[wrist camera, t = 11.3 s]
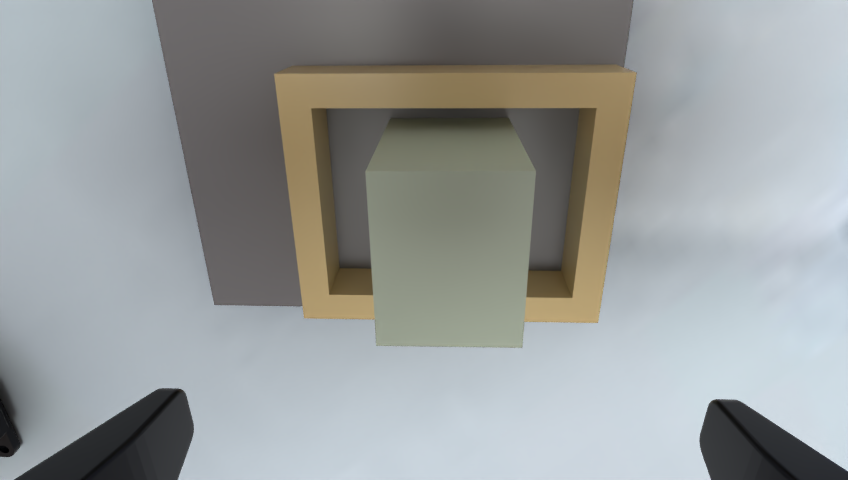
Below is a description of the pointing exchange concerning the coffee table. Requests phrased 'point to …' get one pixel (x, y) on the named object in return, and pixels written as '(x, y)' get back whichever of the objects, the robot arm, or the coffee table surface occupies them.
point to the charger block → (450, 232)
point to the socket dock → (366, 122)
